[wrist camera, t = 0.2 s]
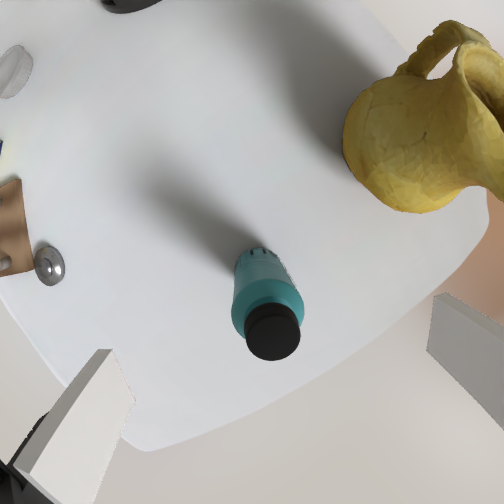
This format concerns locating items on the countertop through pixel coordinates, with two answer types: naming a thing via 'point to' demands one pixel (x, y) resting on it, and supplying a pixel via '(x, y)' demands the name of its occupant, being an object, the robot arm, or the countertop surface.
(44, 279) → the metal knobbed disc
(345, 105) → the countertop surface
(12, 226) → the peg rack
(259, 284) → the beverage bottle
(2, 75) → the ramekin
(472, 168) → the pitcher
